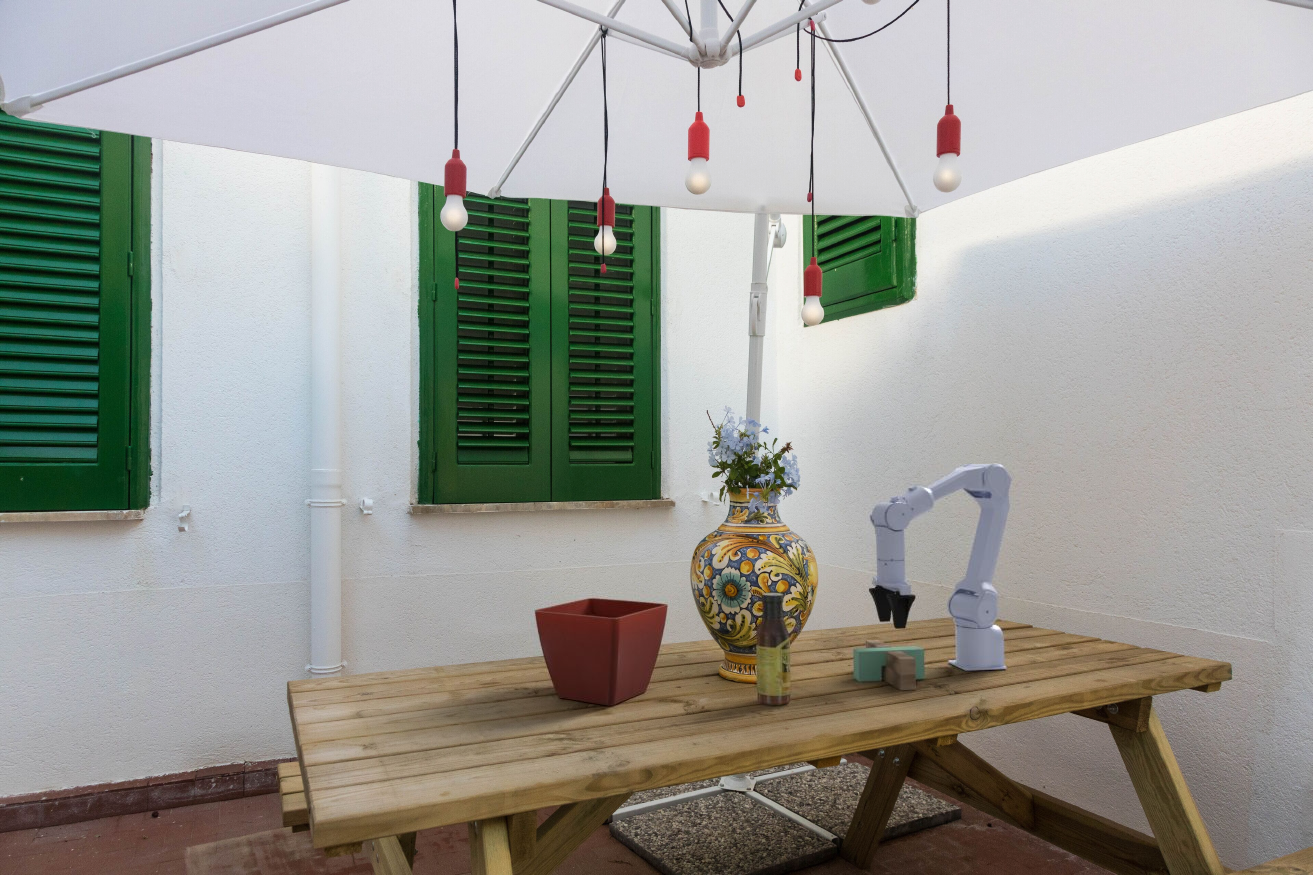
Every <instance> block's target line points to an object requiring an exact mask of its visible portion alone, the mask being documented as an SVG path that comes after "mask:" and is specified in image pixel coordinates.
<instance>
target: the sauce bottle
mask: <svg viewBox="0 0 1313 875" xmlns="http://www.w3.org/2000/svg"><path fill="white" fill-rule="evenodd" d="M783 603H784V594H783V593H779V592H765V593H762V594H761V604H762V614H761V615H762V619H761V621H760V623H759V624H758V627H757V629H756V646H755V652H756V653H755V655H756V656H755V657H756V692H757V696H756V698H757V701H758V702H759V703H761V704H763V705H767V706H781V705H787V704H788V703H790V702H791V701H790V700H791V692H792V690H791V689H792V688H791V636H790V633H789V630H788V628H787V625H786V623H785V618H784V614H783V613H784V611H783V608H784V607H783Z"/></svg>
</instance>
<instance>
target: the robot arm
mask: <svg viewBox="0 0 1313 875" xmlns="http://www.w3.org/2000/svg"><path fill="white" fill-rule="evenodd" d="M1012 479H1013V478H1012V477H1011V475H1010V474H1009V472H1008V470H1007V468H1006V467H1005V466H1004V465H1002V464H1001V463H996V462H995V463H976V464H975V463H966V464H964V465H962V466H960V467H956V468H955V469H954V470H953V471H951V472H950V473H949V474H946V475H945V476H943V477H941V478H940V479H939V480H937V481H935V482H933V483H932V484H930V485H928V486H927V487H924V486H921V485H917V486H916V485H910V486H908V487H907V491H905V492H903V493H901V494H899V495H893V496H891V498H890V501H887V502H886V501H885V502H884V501H881V502H879V503H877V504H876V505H875V506H874V508H873V509H872V513H871V514H870V515H869V520H870V522H871V523H870V524H872V526H873V528H874V534H875V536H876V537H875V545H876V546H875V547H876V549H875V550H876V576H875V575H874V576H872V580H871V584H872V585H873V586H875V587H870V588H868V592H869V594H870V596H871V598H872V599H873V602H874V605H875V609H876V613H877V616H878V621H879V622H880V623H886V622H887V623H888V622H889V623H890V622H891V619H892V624H893V626H894V629H897V630H898V629H901V630H902V629H906V628H907V623H908V618H909V613H910V611H911V608H912V606H913V604H914V601H916V594H913V593H912V585H911V584H909V582H907V580H906V552H905V551H906V550H905V548H906V547H905V530H906V529H907V528H908V527H909V525H910V523H911V521H913V520H915V519H917V518H918V517H920V516H921V515H924V514H926V513H927V512H929V511H931V510H933V508H934V506H935V505H934V504H935V502H937V501H939V500H940V499H943V498H945V497H948V496H949V495H951V494H954V493H956V492H957V491H960V490H963V491H964V492H965V493H966V494H968V495H969V497H971V498H972V499H973V500H974V501H975V502H976V503H977V505H978V506H979V508H980V513H979V518H978V522H977V527H976V531H975V533H974V534H975V535H974V538H973V543H972V547H971V550H970V551H971V552H970V555H969V560H968V564H967V567H966V572H965V576H964V578H962V579H961V580H959V581H958V583H956V584H955V586H954V590H953V592H952V594H951V595H950V596H949V597H948V600H947V606H946V607H947V608H946V609H947V612H948V614H949V615H950V616H951V618H953V620H952V621H953V623H954V624H955V625H954V626H955V629H954V630H955V632H954V633H955V637H954V638H955V659H952V660H951V659H949V660H947V663H949V664H950V665H952V666H955V667H957V668H959V669H961V670H962V671H963V670H964V671H967V672H968V671H986V670H987V671H989V670H1007V666H1006V665H1005V640H1004V639H1005V638H1004V633H1003V630H1002V629H1001V627H1000V626H998V625H997V624H994V623H995V622H996V621H997V618H998V615H999V607H998V606H999V605H998V599H999V593H998V591H997V589H995V587H994V586H993V585H992V584H993V583H992V582H993V579H994V575H995V572H996V571H995V570H996V566H997V562H998V559H999V553H1000V551H1001V550H1000V549H1001V547H1002V546H1001V545H1002V541H1003V536H1004V533H1005V529H1006V524H1007V520H1008V517H1009V516H1008V515H1009V511H1010V505H1011V504H1010V495H1009V494H1010V488H1011V484H1012Z"/></svg>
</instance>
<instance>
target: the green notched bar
mask: <svg viewBox="0 0 1313 875" xmlns="http://www.w3.org/2000/svg"><path fill="white" fill-rule="evenodd" d="M890 651H902V652H903V653H905V654H907V655H909V656H911V657H913V658H915V670H916V680H925V678H926V674H925V672H926V670H925V664H926V663H925V649H924V648H923V647H920V646H918V645H916V646H915V645H913V646H912V645H911V646H892V647H882V648H866V647H862V648H861V647H860V648H859V647H858V648H857V647H856V648H853V649H852V658H853V659H852V660H853V666H852V667H853V679H854V680H856V681H857V682H861V683H862V682H882V680H883V679H882V678H881V666H887V652H890Z"/></svg>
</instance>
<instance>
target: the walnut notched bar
mask: <svg viewBox="0 0 1313 875" xmlns="http://www.w3.org/2000/svg"><path fill="white" fill-rule="evenodd" d="M882 647H893V646H891V645H889V644H888V643H886V642H883V641H882V640H880V639H868V640H865V648H882ZM881 680H884V681H886V682H887V683H888V684H890V685H892V686H893V687H895V688H897V689H898V690H900V691H914V690H915V689H916V690H917V686H916V685H917V683H916V682H917V681H916V680H917V679H916V670H915V658H913V657H911V656H909V655H907V654H905V653H903V652H902V651H890V652H887V666H881ZM916 690H915V691H916Z"/></svg>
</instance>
